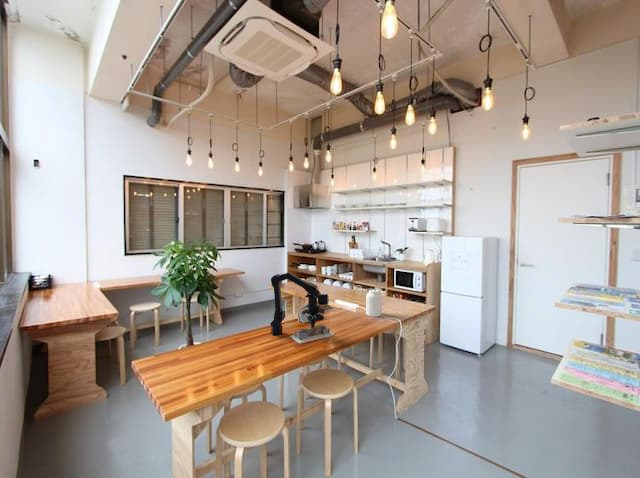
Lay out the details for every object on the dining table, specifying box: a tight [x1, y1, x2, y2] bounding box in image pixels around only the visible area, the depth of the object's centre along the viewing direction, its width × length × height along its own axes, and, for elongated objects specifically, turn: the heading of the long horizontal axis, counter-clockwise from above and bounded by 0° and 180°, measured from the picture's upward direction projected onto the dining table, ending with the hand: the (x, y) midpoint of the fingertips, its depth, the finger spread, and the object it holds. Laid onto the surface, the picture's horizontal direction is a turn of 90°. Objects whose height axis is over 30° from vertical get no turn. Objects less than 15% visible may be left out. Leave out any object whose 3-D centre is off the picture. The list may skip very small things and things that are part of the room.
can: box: [365, 289, 383, 318], centre depth 246 cm, size 12×12×20 cm
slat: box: [298, 324, 327, 337], centre depth 198 cm, size 18×3×5 cm, turn 120°
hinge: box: [296, 307, 309, 324], centre depth 232 cm, size 17×5×10 cm, turn 132°
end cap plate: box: [290, 325, 335, 345], centre depth 198 cm, size 26×12×4 cm, turn 123°
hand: (312, 327), depth 198 cm, fingers closed, pressing on slat
